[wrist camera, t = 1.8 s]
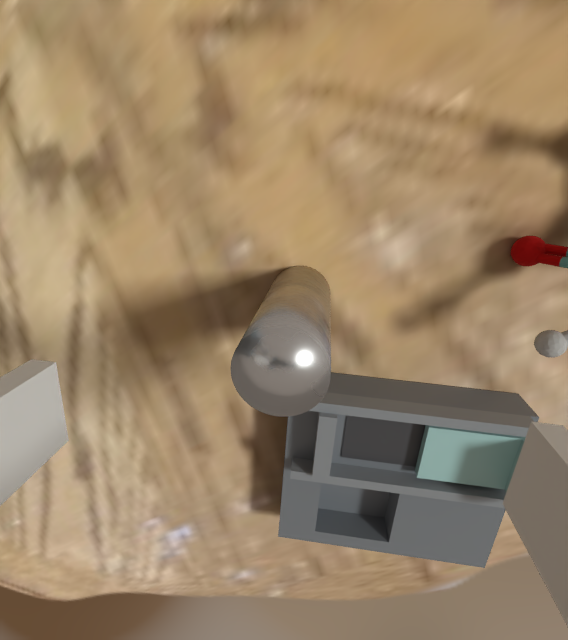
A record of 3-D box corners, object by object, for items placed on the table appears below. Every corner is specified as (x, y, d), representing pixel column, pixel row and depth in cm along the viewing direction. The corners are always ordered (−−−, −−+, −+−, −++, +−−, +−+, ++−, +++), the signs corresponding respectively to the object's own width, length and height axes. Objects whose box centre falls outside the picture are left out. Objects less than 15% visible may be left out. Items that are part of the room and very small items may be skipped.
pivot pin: (269, 319, 23) (230, 410, 14) (272, 263, 22) (231, 321, 13) (327, 325, 23) (325, 422, 14) (333, 268, 22) (336, 332, 13)
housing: (282, 507, 29) (275, 557, 25) (294, 368, 24) (287, 402, 21) (471, 535, 27) (494, 591, 24) (518, 393, 23) (555, 435, 19)
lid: (414, 470, 23) (429, 520, 20) (426, 421, 22) (444, 464, 18) (517, 484, 22) (550, 537, 19) (535, 434, 21) (574, 482, 18)
